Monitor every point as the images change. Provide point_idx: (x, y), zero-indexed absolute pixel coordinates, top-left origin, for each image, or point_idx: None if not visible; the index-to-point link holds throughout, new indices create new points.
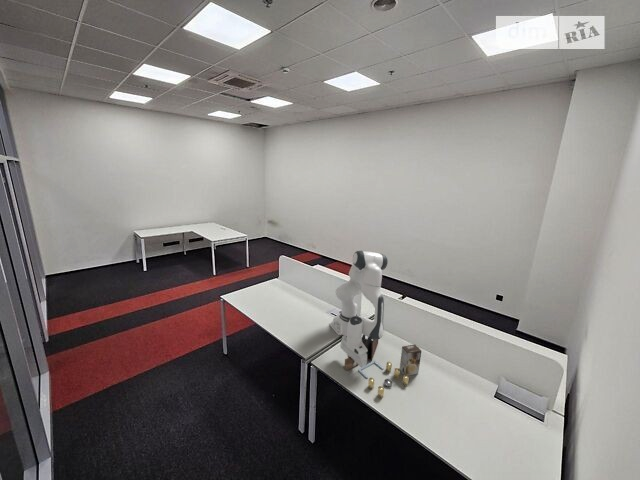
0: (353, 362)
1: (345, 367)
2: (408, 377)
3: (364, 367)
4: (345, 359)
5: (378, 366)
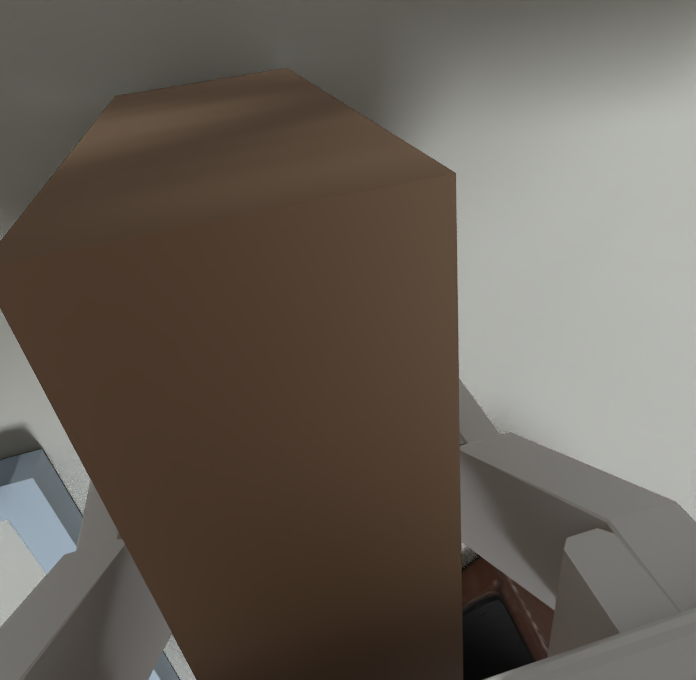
0: None
1: (210, 88)
2: None
3: None
4: (410, 230)
5: None
